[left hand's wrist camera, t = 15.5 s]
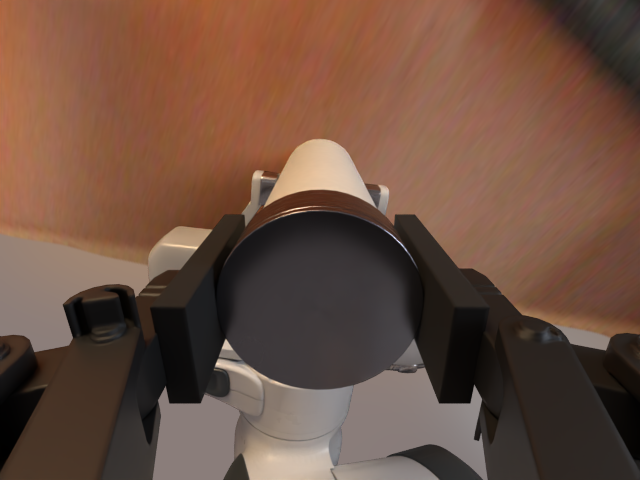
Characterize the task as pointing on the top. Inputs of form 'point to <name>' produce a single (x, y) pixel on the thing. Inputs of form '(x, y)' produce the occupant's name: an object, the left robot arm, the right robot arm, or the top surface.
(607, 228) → the top surface
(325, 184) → the white cylindrical bottle
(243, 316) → the lid
